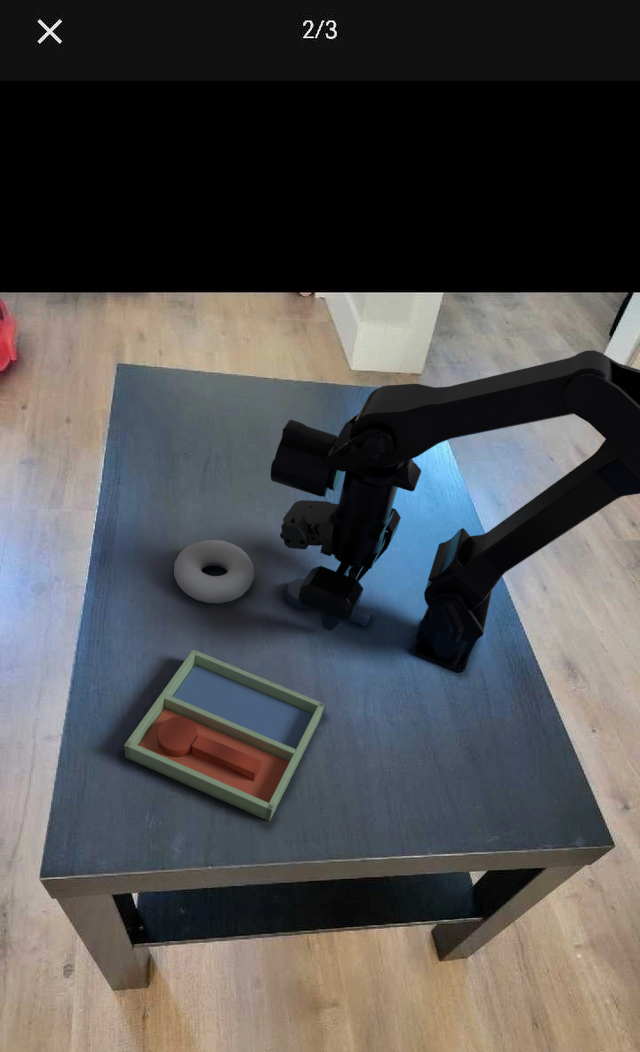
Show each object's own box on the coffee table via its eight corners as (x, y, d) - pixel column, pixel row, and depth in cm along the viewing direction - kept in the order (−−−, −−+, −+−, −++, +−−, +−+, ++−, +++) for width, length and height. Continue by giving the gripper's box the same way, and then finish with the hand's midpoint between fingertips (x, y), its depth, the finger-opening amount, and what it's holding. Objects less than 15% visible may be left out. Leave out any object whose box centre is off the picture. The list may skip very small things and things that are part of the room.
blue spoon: (372, 612, 88) (375, 604, 86) (362, 633, 85) (364, 624, 84) (293, 581, 89) (295, 573, 88) (281, 601, 86) (283, 592, 85)
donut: (269, 583, 88) (213, 542, 91) (272, 563, 86) (215, 522, 89) (213, 622, 83) (156, 577, 86) (215, 603, 80) (156, 557, 83)
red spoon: (265, 759, 70) (266, 751, 69) (248, 791, 68) (249, 783, 67) (170, 718, 72) (170, 710, 71) (150, 748, 69) (149, 739, 68)
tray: (321, 716, 76) (324, 703, 74) (269, 821, 67) (272, 810, 65) (192, 662, 78) (192, 648, 76) (125, 757, 69) (123, 744, 67)
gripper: (327, 440, 81) (309, 539, 93) (261, 527, 69) (250, 629, 81) (415, 471, 80) (385, 569, 91) (363, 567, 68) (336, 665, 79)
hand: (340, 604), depth 86 cm, fingers open, 9 cm apart
